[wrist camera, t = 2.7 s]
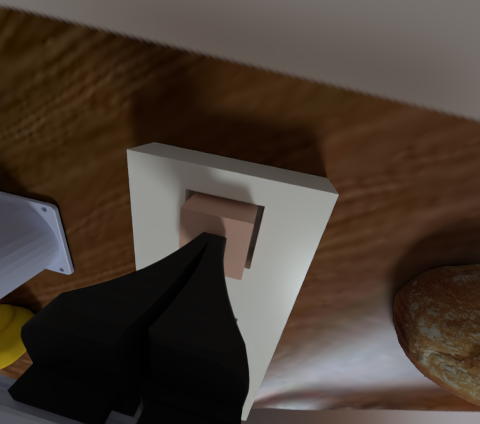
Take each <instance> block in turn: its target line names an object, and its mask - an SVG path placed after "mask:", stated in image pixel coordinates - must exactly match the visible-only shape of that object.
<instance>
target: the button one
mask: <svg viewBox="0 0 480 424" xmlns="http://www.w3.org/2000/svg"><path fill="white" fill-rule="evenodd" d="M257 209H258V205H254V204H249V203H245V202H240V201H236V200H231V199H227V198H222V197H218V196H213V195H209V194H204V193H200V192H196V193H195V194H194V195H193V196H192V197H191V198H190V199H189V200H187V201H186V202H185V203H184V204H183V205H182V206H181V210H180V235H179V248H181V247H182V246H184V245H186V244H187V243H188V242H190V241H191V240H193V239H194V238H196V237H197V236H198V235H200V234H201V233H203V232H207V233H211V234H215V235H219V236H223V237H226V239H227V241H226V247H225V253H224V273H225V277H229V278H233V279H237V280H242V275H243V271H244V266H245V262H246V258H247V253H248V249H249V244H250V240H251V236H252V231H253V227H254V222H255V218H256V213H257Z"/></svg>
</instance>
